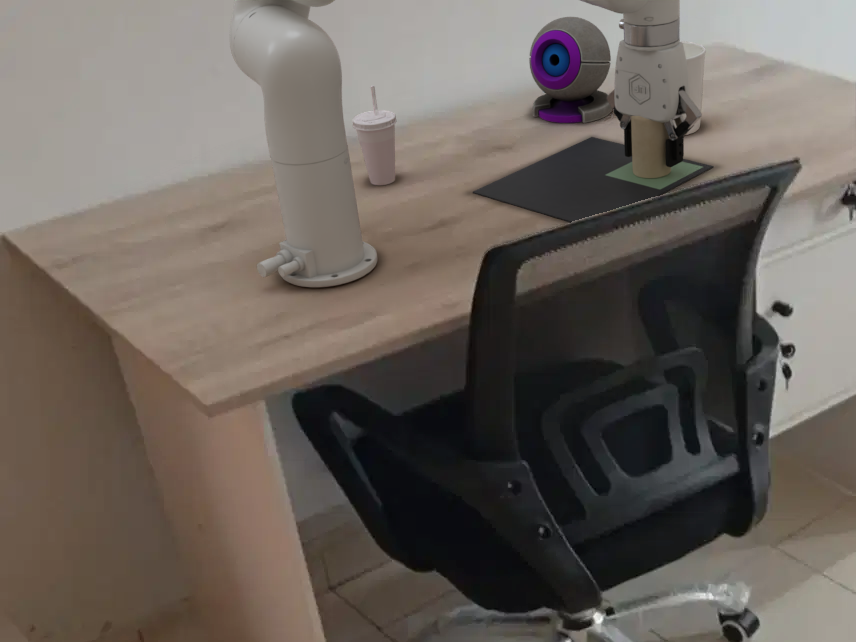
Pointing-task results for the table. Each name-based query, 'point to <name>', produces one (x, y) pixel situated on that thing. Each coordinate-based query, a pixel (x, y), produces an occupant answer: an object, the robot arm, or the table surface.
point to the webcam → (570, 71)
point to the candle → (648, 148)
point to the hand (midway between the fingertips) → (653, 158)
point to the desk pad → (585, 181)
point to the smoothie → (377, 142)
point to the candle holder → (694, 76)
